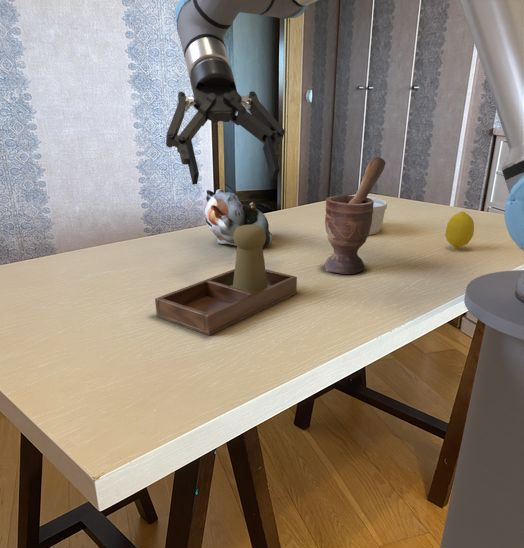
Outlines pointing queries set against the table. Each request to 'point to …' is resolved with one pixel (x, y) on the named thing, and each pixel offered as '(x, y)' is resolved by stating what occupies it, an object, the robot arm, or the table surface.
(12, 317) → the table surface
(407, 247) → the table surface
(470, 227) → the lemon
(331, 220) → the mortar and pestle
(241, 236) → the olive pepper mill
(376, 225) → the ramekin
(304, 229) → the table surface
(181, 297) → the divided wooden tray
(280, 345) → the table surface
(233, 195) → the lucky cat figurine
